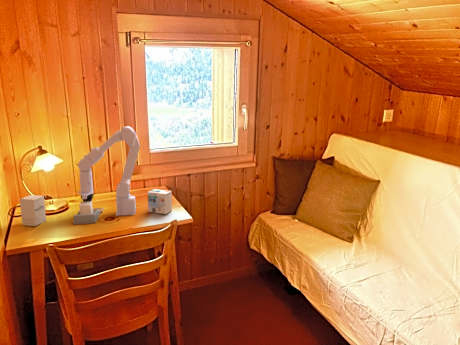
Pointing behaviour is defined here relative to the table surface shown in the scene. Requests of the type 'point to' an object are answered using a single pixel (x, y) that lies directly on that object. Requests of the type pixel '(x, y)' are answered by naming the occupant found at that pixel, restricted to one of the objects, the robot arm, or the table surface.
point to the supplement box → (33, 210)
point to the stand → (99, 210)
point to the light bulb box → (159, 201)
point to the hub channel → (86, 218)
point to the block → (86, 207)
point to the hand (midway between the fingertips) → (88, 209)
